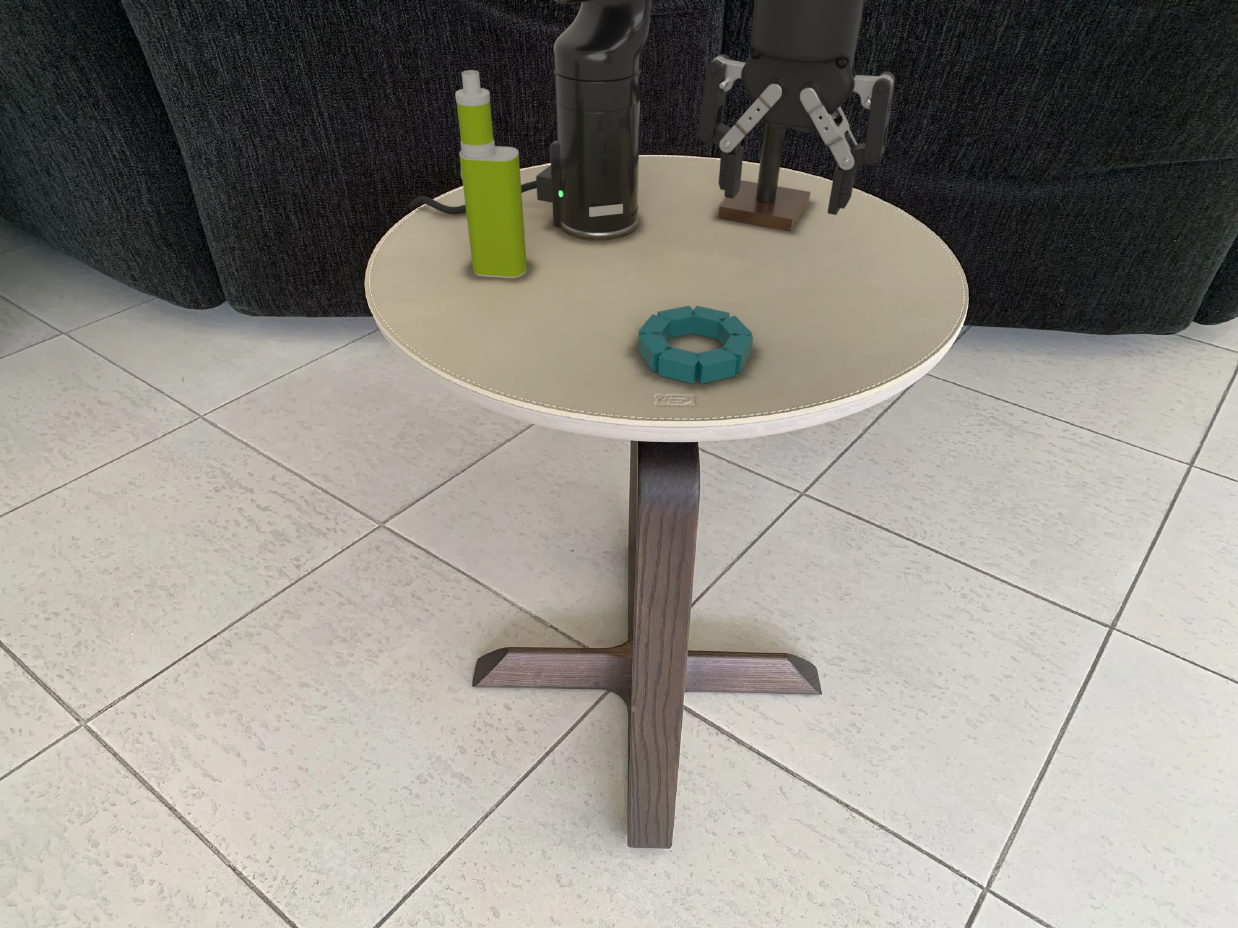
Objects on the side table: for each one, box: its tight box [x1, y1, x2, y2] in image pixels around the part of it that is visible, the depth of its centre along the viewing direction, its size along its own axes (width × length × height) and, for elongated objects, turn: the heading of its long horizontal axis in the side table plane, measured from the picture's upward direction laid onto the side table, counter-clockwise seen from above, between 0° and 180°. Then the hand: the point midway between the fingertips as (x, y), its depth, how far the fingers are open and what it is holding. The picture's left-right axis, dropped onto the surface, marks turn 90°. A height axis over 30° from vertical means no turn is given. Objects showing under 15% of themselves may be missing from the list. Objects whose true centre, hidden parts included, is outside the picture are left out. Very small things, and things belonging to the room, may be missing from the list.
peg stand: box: [717, 122, 811, 232], centre depth 98 cm, size 9×9×15 cm
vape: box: [454, 69, 528, 279], centre depth 84 cm, size 4×6×20 cm, turn 82°
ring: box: [637, 305, 754, 385], centre depth 77 cm, size 10×10×2 cm
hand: (781, 203), depth 68 cm, fingers open, 8 cm apart
